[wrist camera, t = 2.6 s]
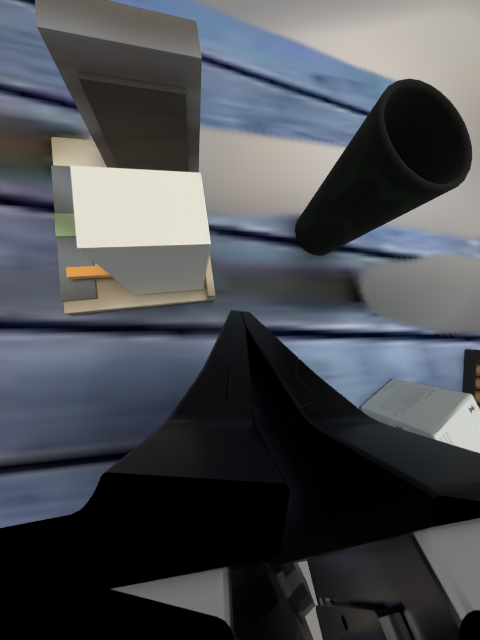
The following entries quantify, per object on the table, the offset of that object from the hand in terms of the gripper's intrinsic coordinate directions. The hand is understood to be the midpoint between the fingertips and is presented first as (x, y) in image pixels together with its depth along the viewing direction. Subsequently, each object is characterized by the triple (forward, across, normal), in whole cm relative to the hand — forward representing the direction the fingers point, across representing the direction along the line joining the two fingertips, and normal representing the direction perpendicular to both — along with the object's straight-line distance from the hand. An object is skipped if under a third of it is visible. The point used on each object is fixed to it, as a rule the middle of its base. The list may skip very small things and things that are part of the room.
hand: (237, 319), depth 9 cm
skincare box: (+3, -22, +14) cm, 26 cm away
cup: (+17, -11, -1) cm, 21 cm away
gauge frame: (+15, +8, +1) cm, 17 cm away
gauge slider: (+11, +7, +4) cm, 13 cm away
